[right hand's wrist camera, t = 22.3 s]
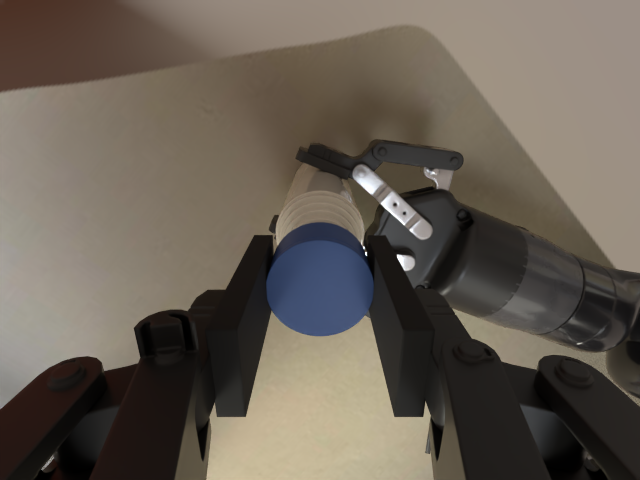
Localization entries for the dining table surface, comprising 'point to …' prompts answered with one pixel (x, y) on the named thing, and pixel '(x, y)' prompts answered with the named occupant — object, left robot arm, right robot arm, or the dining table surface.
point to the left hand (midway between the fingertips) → (285, 189)
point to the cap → (320, 280)
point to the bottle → (319, 203)
